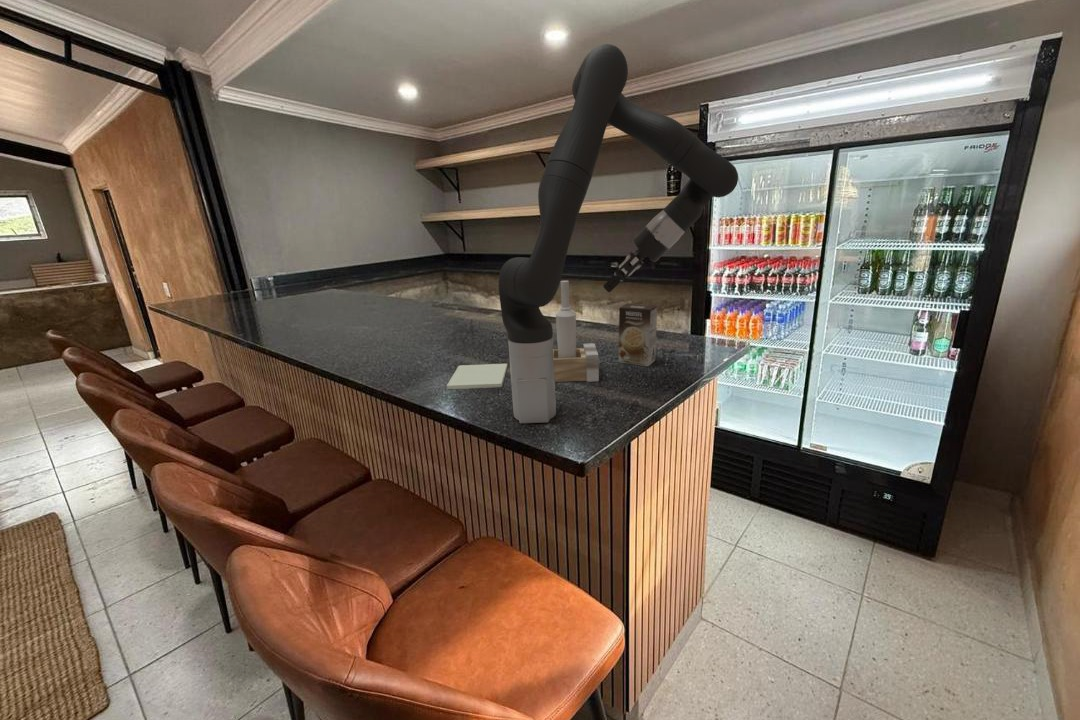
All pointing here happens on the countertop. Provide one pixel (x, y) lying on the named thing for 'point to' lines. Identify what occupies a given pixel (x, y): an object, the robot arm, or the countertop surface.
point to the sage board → (478, 376)
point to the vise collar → (578, 365)
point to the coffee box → (637, 334)
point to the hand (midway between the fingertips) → (608, 286)
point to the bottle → (566, 325)
